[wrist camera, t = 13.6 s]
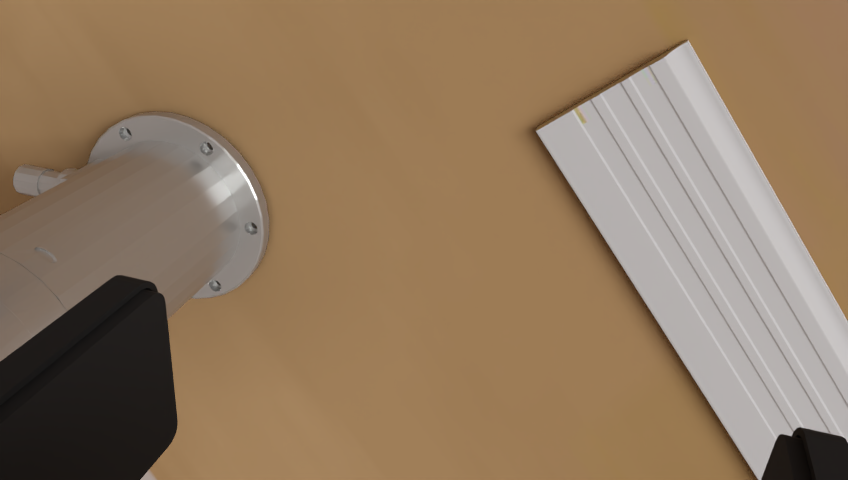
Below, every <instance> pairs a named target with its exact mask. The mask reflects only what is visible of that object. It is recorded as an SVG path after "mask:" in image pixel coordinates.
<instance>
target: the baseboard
mask: <svg viewBox="0 0 848 480" xmlns="http://www.w3.org/2000/svg"><path fill="white" fill-rule="evenodd" d="M536 132H537V134H538V136H539V137H540V139H541V140H542V142H543V143H544V145H545V147H546V148H547V150H548V151H549V153H550V154H551V156H552V158H553V159H554V161H555V162H556V164H557V165H558V167H559V169H560V170H561V172H562V173H563V175H564V176H565V178H566V180H567V181H568V183H569V184H570V186H571V187H572V189H573V191H574V192H575V194H576V195H577V197H578V198H579V200H580V201H581V203H582V205H583V206H584V208H585V209H586V211H587V212H588V214H589V216H590V217H591V219H592V220H593V222H594V223H595V225H596V227H597V228H598V230H599V231H600V233H601V234H602V236H603V238H604V239H605V241H606V242H607V244H608V245H609V247H610V249H611V250H612V252H613V253H614V255H615V256H616V258H617V259H618V261H619V263H620V264H621V266H622V267H623V269H624V270H625V272H626V274H627V275H628V277H629V278H630V280H631V281H632V283H633V285H634V286H635V288H636V289H637V291H638V292H639V294H640V296H641V297H642V299H643V300H644V302H645V303H646V305H647V307H648V308H649V310H650V311H651V313H652V314H653V316H654V317H655V319H656V321H657V322H658V324H659V325H660V327H661V328H662V330H663V332H664V333H665V335H666V336H667V338H668V339H669V341H670V343H671V344H672V346H673V347H674V349H675V350H676V352H677V354H678V355H679V357H680V358H681V360H682V361H683V363H684V365H685V366H686V368H687V369H688V371H689V372H690V374H691V376H692V377H693V379H694V380H695V382H696V383H697V385H698V386H699V388H700V390H701V391H702V393H703V394H704V396H705V397H706V399H707V401H708V402H709V404H710V405H711V407H712V408H713V410H714V412H715V413H716V415H717V416H718V418H719V419H720V421H721V423H722V424H723V426H724V427H725V429H726V430H727V432H728V434H729V435H730V437H731V438H732V440H733V441H734V443H735V444H736V446H737V448H738V449H739V451H740V452H741V454H742V455H743V457H744V459H745V460H746V462H747V463H748V465H749V466H750V468H751V470H752V471H753V473H754V474H755V476H756V477H757V479H758V480H761V479H762V476H763V473H764V471H765V468H766V465H767V463H768V460H769V457H770V455H771V452H772V449H773V446H774V444H775V441H776V439H777V437H778V436H779V435H780V434H784V435H788V436H792V434H793V432H794V431H795V430H796V428H799V427H802V428H806V429H811V430H815V431H820V432H824V433H829V434H833V435H838V436H842V437H844V438H845V439H846V440H847V442H848V321H847V319H846V317H845V316H844V314H843V312H842V310H841V309H840V307H839V305H838V303H837V302H836V300H835V298H834V296H833V294H832V293H831V291H830V289H829V287H828V286H827V284H826V282H825V280H824V279H823V277H822V275H821V273H820V272H819V270H818V268H817V266H816V264H815V263H814V261H813V259H812V257H811V256H810V254H809V252H808V250H807V249H806V247H805V245H804V243H803V242H802V240H801V238H800V236H799V234H798V233H797V231H796V229H795V227H794V226H793V224H792V222H791V220H790V219H789V217H788V215H787V213H786V212H785V210H784V208H783V206H782V205H781V203H780V201H779V199H778V197H777V196H776V194H775V192H774V190H773V189H772V187H771V185H770V183H769V182H768V180H767V178H766V176H765V175H764V173H763V171H762V169H761V167H760V166H759V164H758V162H757V160H756V159H755V157H754V155H753V153H752V152H751V150H750V148H749V146H748V145H747V143H746V141H745V139H744V137H743V136H742V134H741V132H740V130H739V129H738V127H737V125H736V123H735V122H734V120H733V118H732V116H731V115H730V113H729V111H728V109H727V107H726V106H725V104H724V102H723V100H722V99H721V97H720V95H719V93H718V92H717V90H716V88H715V86H714V85H713V83H712V81H711V79H710V77H709V76H708V74H707V72H706V70H705V69H704V67H703V65H702V63H701V62H700V60H699V58H698V56H697V55H696V53H695V51H694V49H693V47H692V46H691V44H690V42H689V40H686V41H684V42H683V43H681V44H679V45H678V46H676V47H674V48H672V49H671V50H669V51H667V52H665V53H664V54H662V55H660V56H659V57H657V58H655V59H653V60H652V61H650V62H648V63H646V64H645V65H643V66H641V67H640V68H638V69H636V70H634V71H633V72H631V73H629V74H628V75H626V76H624V77H622V78H621V79H619V80H617V81H615V82H614V83H612V84H610V85H609V86H607V87H605V88H603V89H602V90H600V91H598V92H596V93H595V94H593V95H591V96H590V97H588V98H586V99H584V100H583V101H581V102H579V103H578V104H576V105H574V106H572V107H571V108H569V109H567V110H565V111H564V112H562V113H560V114H559V115H557V116H555V117H553V118H552V119H550V120H548V121H546V122H545V123H543V124H541V125H540V126H538V127H537V129H536Z"/></svg>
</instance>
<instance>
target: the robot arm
mask: <svg viewBox="0 0 848 480" xmlns="http://www.w3.org/2000/svg"><path fill="white" fill-rule="evenodd" d="M13 184H14V188H15V189H16V191H17V192H19V193H21V194H24V195H29V196H34V198H32V199H30V200H28V201H26V202H24V203H23V204H21V205H19V206H17V207H15V208H13V209H11V210H9V211H8V212H6V213H4V214H2V215H0V480H140V479H141V478H142V477H143V476H144V475H145V473H146V472H147V471H148V470H149V469H150V467H151V466H152V465H153V464H154V463H155V462H156V460H157V459H158V458H159V457H160V456H161V455H162V453H163V452H164V451H165V450H166V449H167V447H168V446H169V445H170V444H171V442H172V440H173V438H174V436H175V433H176V430H177V412H176V402H175V392H174V382H173V372H172V362H171V352H170V342H169V332H168V322H167V320H168V319H169V318H170V317H171V316H172V315H173V314H174V313H175V312H176V311H177V310H178V309H179V308H181V307H182V306H183V305H184V304H185V303H186V302H187V301H188V300H189V299H190V298H195V299H199V298H213V297H216V296H220V295H224V294H226V293H228V292H230V291H232V290H234V289H236V288H237V287H239V286H240V285H241V284H242V283H243V282H244V281H245V280H246V279H248V278H249V277H250V276H251V274H252V273H253V272H254V271H255V270H256V269H257V267H258V266H259V264H260V262H261V260H262V258H263V256H264V254H265V252H266V247H267V243H268V239H269V216H268V210H267V204H266V200H265V198H264V195H263V192H262V189H261V186H260V184H259V182H258V180H257V178H256V177H255V175H254V173H253V171H252V169H251V167H250V166H249V165H248V163H247V162H246V161H245V160H244V158H243V157H242V156H241V154H240V153H239V152H238V151H237V150H236V149H235V148H234V147H233V146H232V145H231V144H230V143H229V142H228V141H227V140H226V139H225V138H224V137H222V136H221V135H220V134H218V133H217V132H215V131H214V130H212V129H211V128H209V127H208V126H206V125H204V124H202V123H200V122H198V121H196V120H194V119H192V118H190V117H186V116H182V115H179V114H175V113H171V112H156V111H153V112H147V113H140V114H137V115H134V116H132V117H129V118H127V119H124V120H122V121H120V122H119V123H117V124H115V125H113V126H112V127H110V128H109V129H108V130H107V131H106V132H105V133H104V134H103V135H102V136H101V137H100V138H99V139H98V141H97V142H96V144H95V146H94V147H93V149H92V151H91V154H90V157H89V160H88V163H87V165H86V166H84V167H82V168H80V169H73V168H68V169H65V170H63V171H62V172H57V171H54V170H53V169H48V168H42V167H37V166H32V165H27V164H24V165H22V166H20V167H19V168H18V169H17V170H16V171H15V174H14V178H13ZM761 480H848V442H847V440H846V439H845V438H844V437H842V436H838V435H833V434H829V433H824V432H820V431H815V430H811V429H806V428H802V427H799V428H796V430H795V431H794V432H793V434H792V436H788V435H784V434H780V435H779V436H778V437H777V439H776V441H775V444H774V446H773V449H772V452H771V455H770V457H769V460H768V463H767V465H766V468H765V471H764V473H763V476H762V479H761Z"/></svg>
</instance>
